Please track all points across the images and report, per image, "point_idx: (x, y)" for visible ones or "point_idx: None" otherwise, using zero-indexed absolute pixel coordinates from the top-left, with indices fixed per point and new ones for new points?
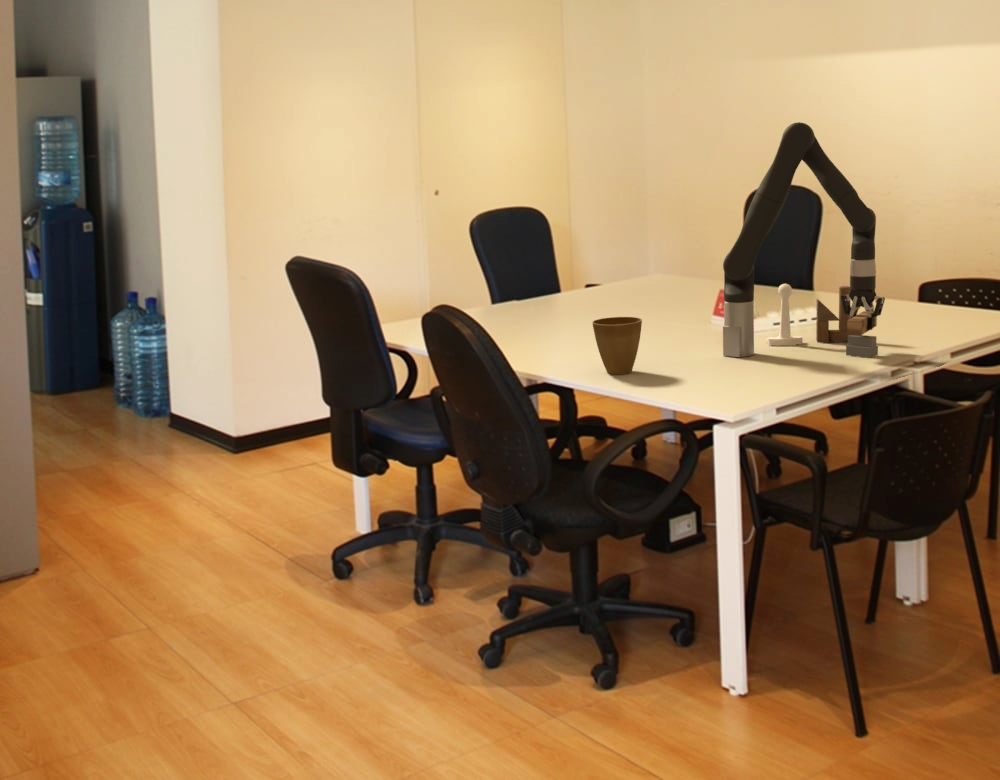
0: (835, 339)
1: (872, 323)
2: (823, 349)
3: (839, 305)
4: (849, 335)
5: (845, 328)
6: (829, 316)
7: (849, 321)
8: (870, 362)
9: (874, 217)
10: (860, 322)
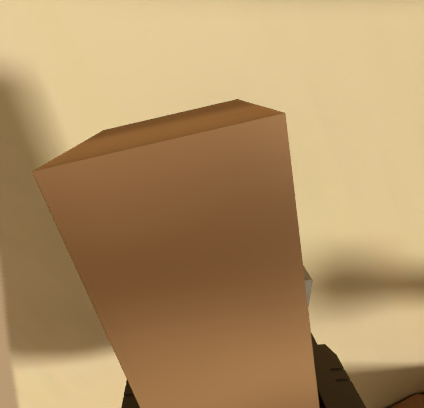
0: (419, 403)
1: (124, 401)
2: (418, 274)
3: None
4: (307, 294)
5: None
6: None
7: (239, 118)
8: (74, 109)
9: None
10: (47, 166)
